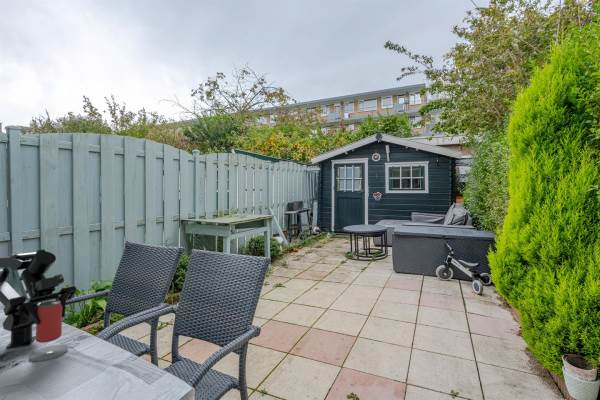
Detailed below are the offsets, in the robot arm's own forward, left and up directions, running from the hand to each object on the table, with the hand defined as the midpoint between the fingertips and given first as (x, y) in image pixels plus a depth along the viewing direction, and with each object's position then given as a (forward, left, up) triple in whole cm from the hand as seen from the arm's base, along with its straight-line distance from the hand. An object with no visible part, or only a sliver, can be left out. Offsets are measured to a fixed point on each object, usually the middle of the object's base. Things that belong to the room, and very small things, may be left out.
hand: (51, 320), depth 99 cm
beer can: (-1, -1, -7) cm, 7 cm away
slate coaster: (-1, -1, -12) cm, 12 cm away
